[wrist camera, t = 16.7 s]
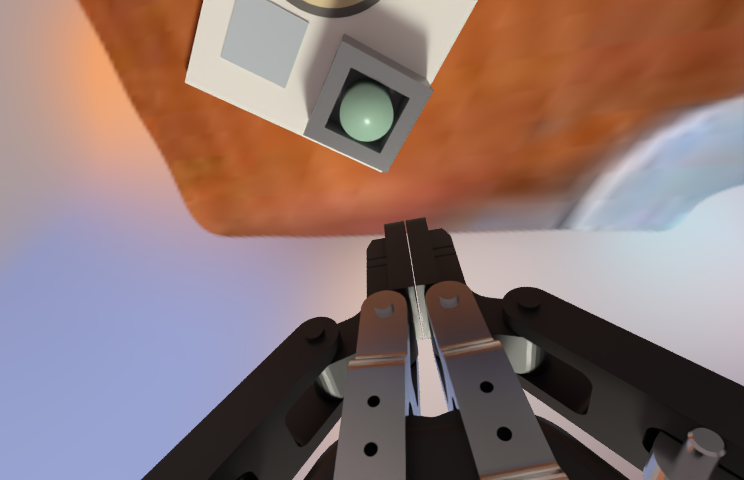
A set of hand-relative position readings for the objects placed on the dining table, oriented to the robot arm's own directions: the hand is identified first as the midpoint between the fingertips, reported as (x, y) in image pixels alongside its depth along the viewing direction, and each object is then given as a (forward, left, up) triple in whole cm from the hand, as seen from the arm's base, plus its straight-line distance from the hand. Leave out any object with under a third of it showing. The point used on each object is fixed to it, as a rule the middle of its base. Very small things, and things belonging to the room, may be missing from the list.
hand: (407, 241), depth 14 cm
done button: (+1, -1, -19) cm, 19 cm away
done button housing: (+1, -1, -21) cm, 21 cm away
